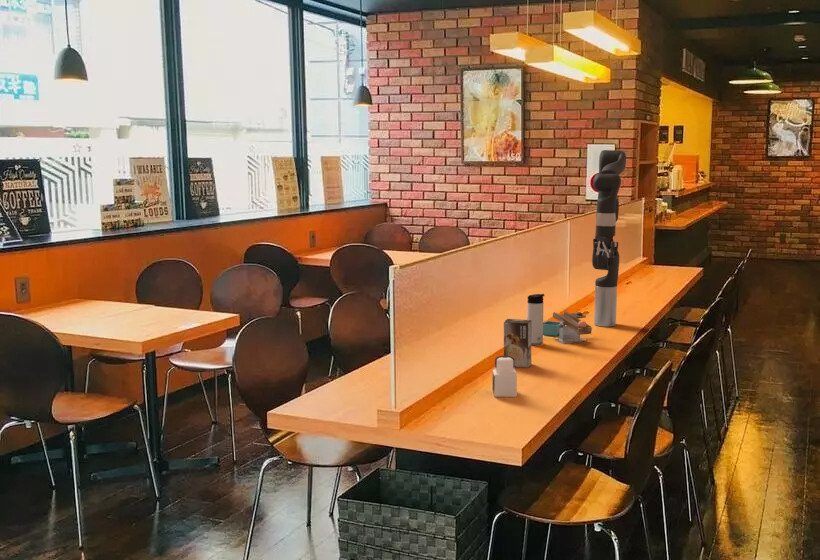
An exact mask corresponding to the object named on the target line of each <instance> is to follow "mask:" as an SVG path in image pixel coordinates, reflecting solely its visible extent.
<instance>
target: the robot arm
mask: <svg viewBox="0 0 820 560" xmlns="http://www.w3.org/2000/svg"><path fill="white" fill-rule="evenodd" d="M598 158H599V159H598V173H596V174H595V176H594V178H593V181H592V184H593V185H592V186H593V188H594V190H595V191H597V192H598V193H597V201H596V215H595V216H596V217H595V219H596V220H595V235H594V238H592V244H593V245H592V246H593V249H592V255H591V256H592V258H591V263H592V267H593V269H594V270H597V271H598V270H601V271H607V274H606V275H604V276H602V277H597V278H596V279H595V287H594V319H593V320H594V321H593V324H594V326H598V327H607V328H608V327H615V326H616V325H617V306H618V305H617V301H618V299H617V298H618V280H619V270H620V269H619V268H620V253H619V242H618V241H614V237H616V226H617V225H616V224H617V221H618V219H619V213H620V212H619V210H620V202H619V199H618V193H619V191H620V187H621V184H622V178H621V176H620V175H621V174H622V173H623V172H624V170H625V169H626V165H627V155H626V153H625V152H624V151H623V150H615V149H614V150H612V149H606V150H605V149H603V150H601V151H600V154H599V157H598Z"/></svg>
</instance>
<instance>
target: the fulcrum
mask: <svg viewBox="0 0 820 560" xmlns="http://www.w3.org/2000/svg"><path fill="white" fill-rule="evenodd" d="M559 322H560V324H559V328H560V335H559V336H558V337H559V338H555V339H554V342H557V343H559V344H562V345H564V344H573V343H574V342H575V343H583V341H584V342H587V339H586V338H582V337H581V335H577V332H576V331H574V330H573V329H571V328H569V327H568V326H566V325H565V321H562V320H560V321H559Z"/></svg>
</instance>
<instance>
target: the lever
mask: <svg viewBox="0 0 820 560" xmlns="http://www.w3.org/2000/svg"><path fill="white" fill-rule="evenodd" d="M552 318H554V319H555V320H556V321H557V322H560V320H562V321H565V326H568V327H569V328H571V329H573V330H574V331H576V332H577V335H580V336H582V335H592V330H593V327H592V326H591V325H590V324H588V323H586V327H583V328H580V327H579V326H578V323H579V322H580V321H582V319H585V318H587V316H586V314H584V313H583V312H579V311H578V312H572V313H569V312H568V311H566V310H565V311H564V312H563V314H559V313H557V312H555V311H554V312H553V313H552Z"/></svg>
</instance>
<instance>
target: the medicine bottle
mask: <svg viewBox="0 0 820 560" xmlns="http://www.w3.org/2000/svg"><path fill="white" fill-rule="evenodd" d="M517 383H518V375H517V371H516V369H515V367H514V358H513V357H511V356H504V355H499V356H497V357H495V358H494V369H492V394H493V397H494V398H499V397H500V398H502V397H504V398H505V397H506V398H508V397H509V398H516V397H517V396H518V395H517V393H518V389H517V387H518V384H517Z"/></svg>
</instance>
